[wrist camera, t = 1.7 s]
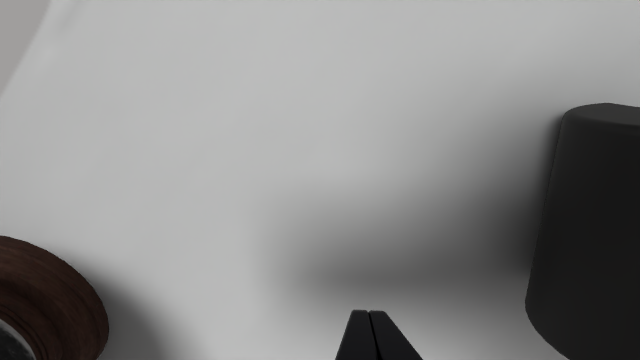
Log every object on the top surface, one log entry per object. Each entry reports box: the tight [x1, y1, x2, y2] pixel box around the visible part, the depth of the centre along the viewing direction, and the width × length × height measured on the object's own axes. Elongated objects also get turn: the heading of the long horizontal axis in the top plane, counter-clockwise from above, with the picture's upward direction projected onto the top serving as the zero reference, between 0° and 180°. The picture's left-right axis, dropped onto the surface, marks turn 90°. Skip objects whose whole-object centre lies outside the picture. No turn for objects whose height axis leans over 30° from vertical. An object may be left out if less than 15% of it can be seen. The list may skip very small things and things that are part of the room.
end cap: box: [525, 103, 640, 360], centre depth 13 cm, size 10×7×7 cm
